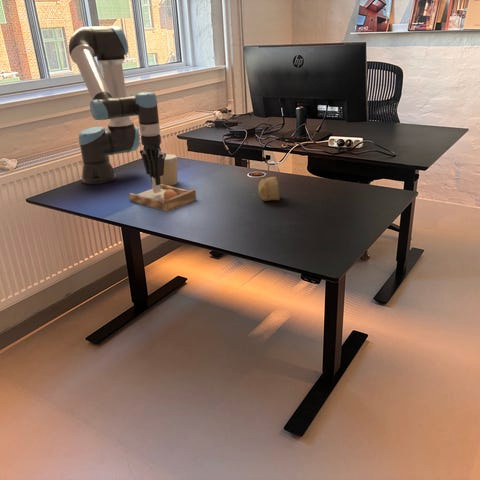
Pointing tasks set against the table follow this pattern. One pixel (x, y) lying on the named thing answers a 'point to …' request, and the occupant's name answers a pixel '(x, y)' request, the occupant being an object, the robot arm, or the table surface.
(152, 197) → the mat
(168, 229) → the table surface
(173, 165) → the coffee cup
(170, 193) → the ball
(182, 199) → the lane frame
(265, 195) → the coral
